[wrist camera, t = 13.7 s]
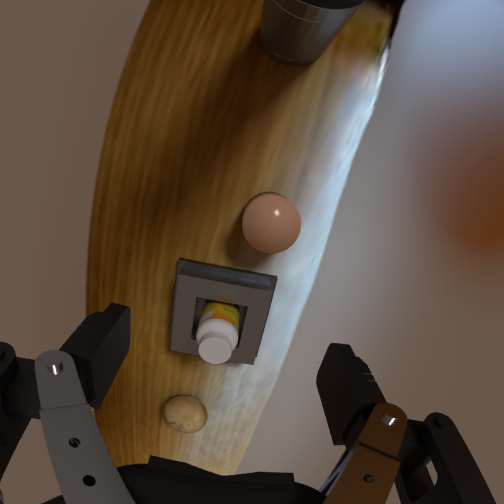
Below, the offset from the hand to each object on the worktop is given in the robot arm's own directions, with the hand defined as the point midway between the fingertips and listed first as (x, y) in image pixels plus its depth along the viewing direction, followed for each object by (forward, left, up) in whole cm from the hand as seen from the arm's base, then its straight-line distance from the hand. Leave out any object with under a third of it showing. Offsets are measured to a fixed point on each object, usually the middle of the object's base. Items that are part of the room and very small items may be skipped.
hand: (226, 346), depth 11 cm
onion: (+37, -3, -30) cm, 48 cm away
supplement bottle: (+15, 0, -29) cm, 33 cm away
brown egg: (0, +4, -30) cm, 30 cm away
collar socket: (+15, 0, -30) cm, 34 cm away
